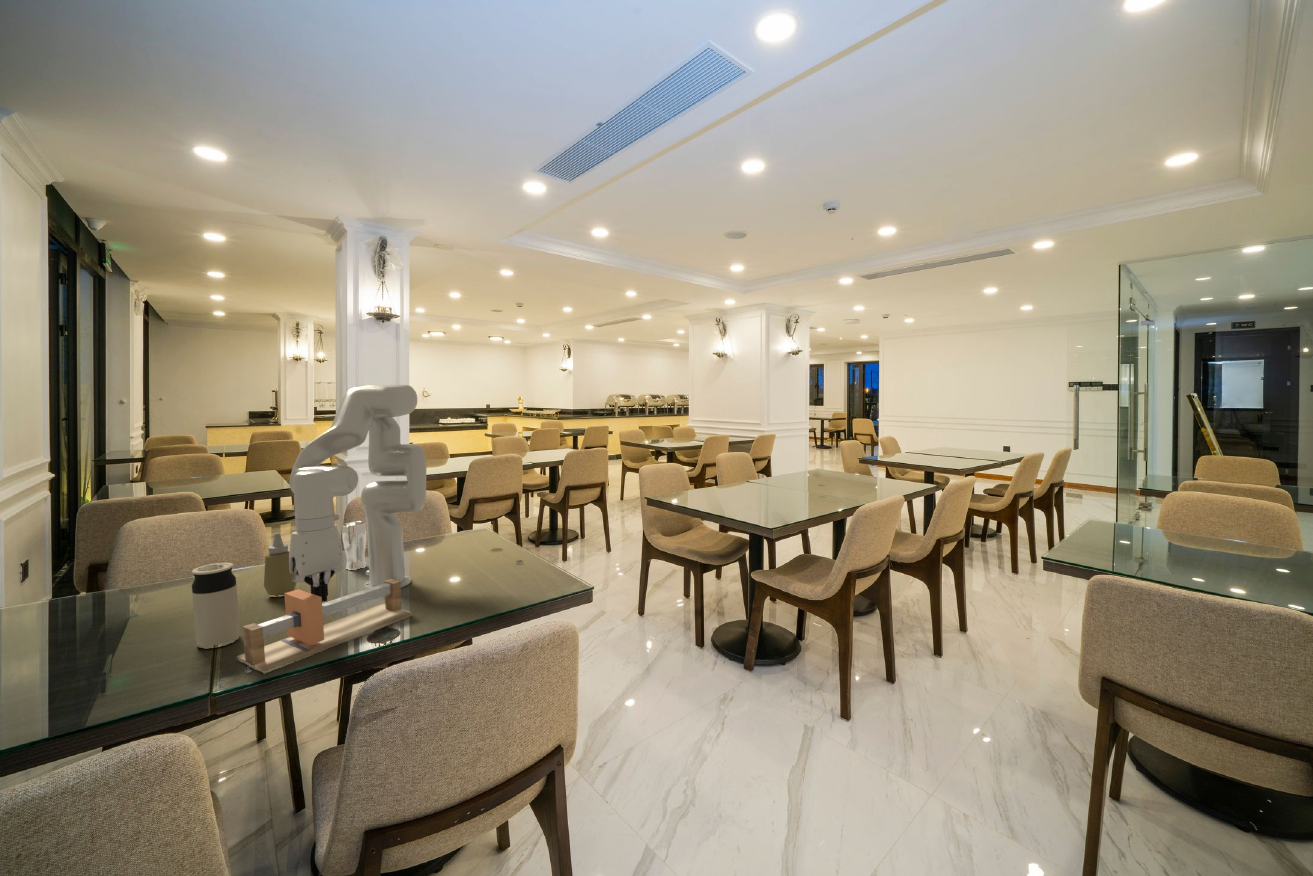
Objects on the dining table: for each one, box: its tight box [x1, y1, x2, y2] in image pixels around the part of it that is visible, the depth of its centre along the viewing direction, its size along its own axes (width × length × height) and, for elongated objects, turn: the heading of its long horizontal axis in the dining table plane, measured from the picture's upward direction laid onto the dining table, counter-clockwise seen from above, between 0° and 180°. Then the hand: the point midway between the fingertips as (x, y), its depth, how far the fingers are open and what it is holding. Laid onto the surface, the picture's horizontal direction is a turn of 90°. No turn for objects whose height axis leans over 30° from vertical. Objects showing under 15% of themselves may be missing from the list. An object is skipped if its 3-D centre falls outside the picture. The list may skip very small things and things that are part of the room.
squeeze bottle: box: [263, 532, 297, 596], centre depth 158 cm, size 8×8×18 cm
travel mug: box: [191, 562, 241, 646], centre depth 127 cm, size 8×8×18 cm
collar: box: [284, 588, 324, 645], centre depth 125 cm, size 10×3×10 cm, turn 59°
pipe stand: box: [236, 579, 412, 671], centre depth 130 cm, size 12×34×8 cm, turn 149°
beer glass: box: [341, 520, 368, 571], centre depth 182 cm, size 7×7×15 cm
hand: (320, 600), depth 128 cm, fingers closed
